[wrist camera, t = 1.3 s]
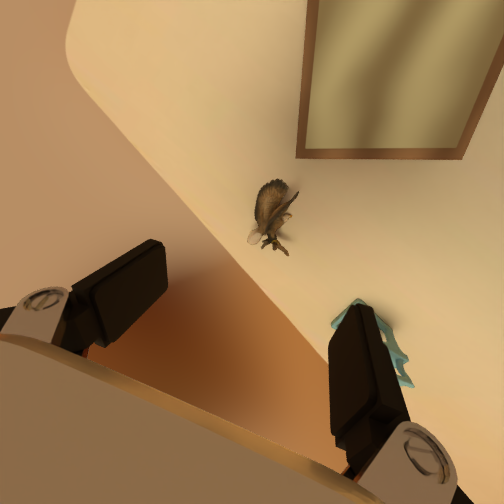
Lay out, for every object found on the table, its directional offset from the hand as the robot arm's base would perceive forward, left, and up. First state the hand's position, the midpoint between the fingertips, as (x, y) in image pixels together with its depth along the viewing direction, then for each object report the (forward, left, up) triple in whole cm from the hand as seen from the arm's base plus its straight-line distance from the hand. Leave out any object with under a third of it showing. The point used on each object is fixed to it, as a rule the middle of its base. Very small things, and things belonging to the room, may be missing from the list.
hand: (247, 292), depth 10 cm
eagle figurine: (+3, +3, -23) cm, 23 cm away
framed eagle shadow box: (-7, -12, -23) cm, 26 cm away
